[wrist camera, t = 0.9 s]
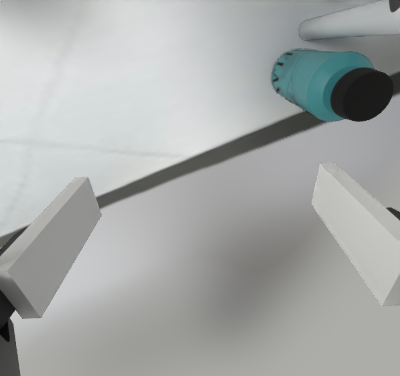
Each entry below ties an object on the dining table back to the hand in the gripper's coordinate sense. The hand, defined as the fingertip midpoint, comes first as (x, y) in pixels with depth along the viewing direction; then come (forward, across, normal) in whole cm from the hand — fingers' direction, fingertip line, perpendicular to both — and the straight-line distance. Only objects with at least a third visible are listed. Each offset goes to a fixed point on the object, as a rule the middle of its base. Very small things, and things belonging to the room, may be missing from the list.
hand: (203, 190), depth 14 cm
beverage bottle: (+28, +13, +3) cm, 31 cm away
